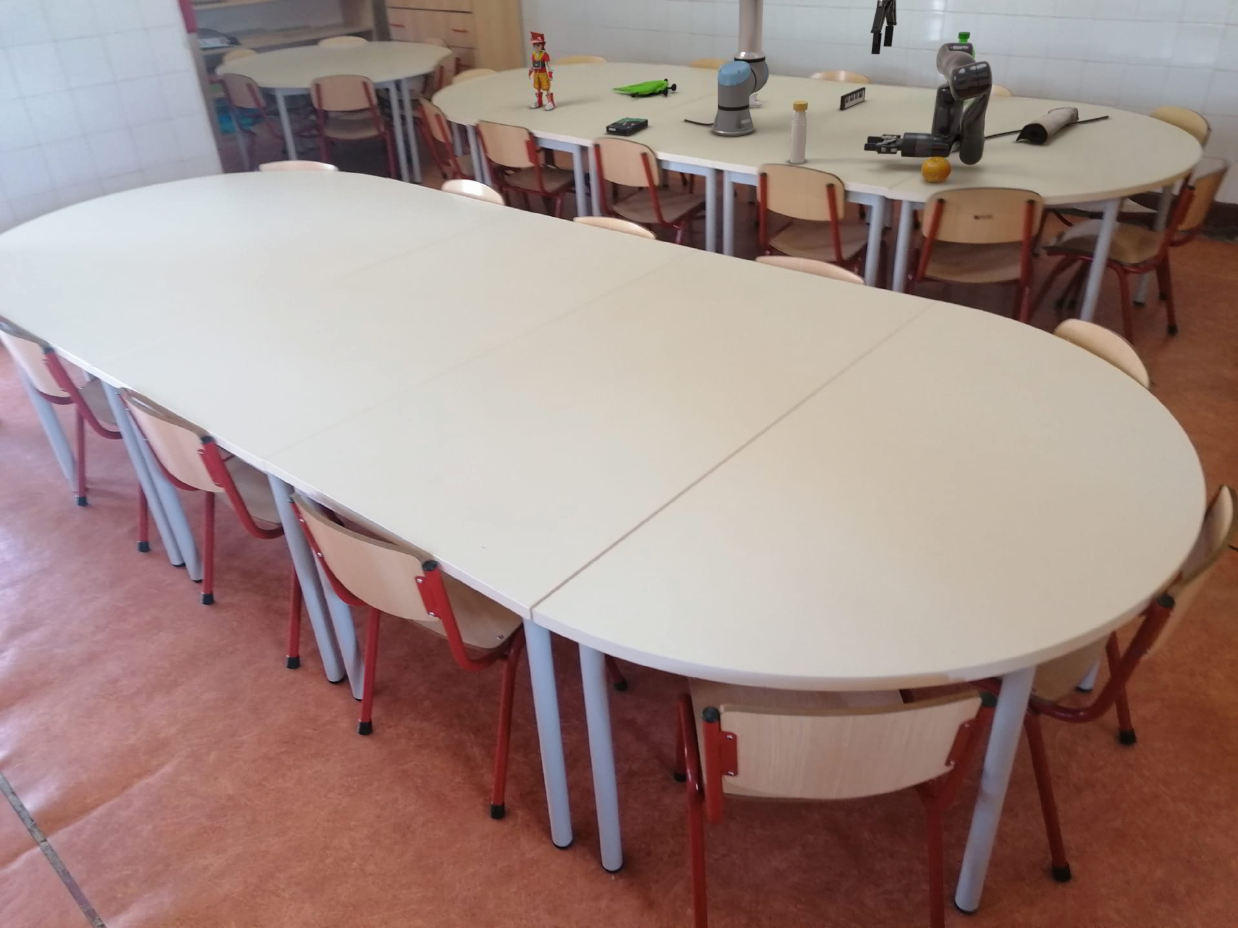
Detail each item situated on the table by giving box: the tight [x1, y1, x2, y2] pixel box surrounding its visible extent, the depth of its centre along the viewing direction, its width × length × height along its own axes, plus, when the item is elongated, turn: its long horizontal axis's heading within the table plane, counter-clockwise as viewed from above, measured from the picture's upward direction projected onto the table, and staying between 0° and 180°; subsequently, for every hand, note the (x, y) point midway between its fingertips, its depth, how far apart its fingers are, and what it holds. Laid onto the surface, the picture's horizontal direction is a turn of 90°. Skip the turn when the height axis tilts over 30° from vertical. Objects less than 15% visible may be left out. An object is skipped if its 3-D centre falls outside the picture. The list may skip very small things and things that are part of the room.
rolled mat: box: [1015, 106, 1080, 145], centre depth 311 cm, size 30×9×10 cm
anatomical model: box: [749, 92, 763, 109], centre depth 366 cm, size 15×10×10 cm
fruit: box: [921, 157, 952, 183], centre depth 276 cm, size 8×8×8 cm
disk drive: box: [605, 116, 649, 136], centre depth 345 cm, size 10×3×15 cm
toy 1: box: [527, 31, 556, 111], centre depth 374 cm, size 12×9×30 cm
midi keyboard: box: [839, 86, 867, 111], centre depth 358 cm, size 18×1×5 cm, turn 138°
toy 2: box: [612, 78, 677, 99], centre depth 396 cm, size 28×5×30 cm
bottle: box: [789, 110, 808, 164], centre depth 297 cm, size 5×5×19 cm
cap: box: [792, 100, 809, 112], centre depth 292 cm, size 4×4×2 cm
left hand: (881, 50), depth 308 cm, fingers open, 13 cm apart
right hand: (865, 143), depth 291 cm, fingers open, 8 cm apart
